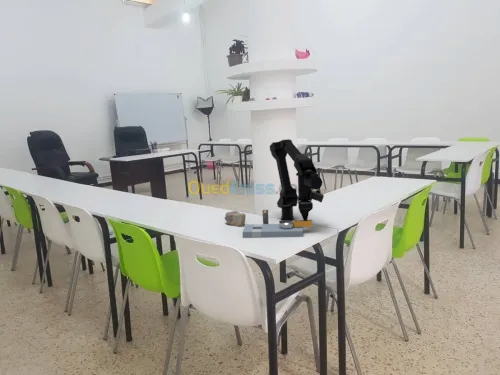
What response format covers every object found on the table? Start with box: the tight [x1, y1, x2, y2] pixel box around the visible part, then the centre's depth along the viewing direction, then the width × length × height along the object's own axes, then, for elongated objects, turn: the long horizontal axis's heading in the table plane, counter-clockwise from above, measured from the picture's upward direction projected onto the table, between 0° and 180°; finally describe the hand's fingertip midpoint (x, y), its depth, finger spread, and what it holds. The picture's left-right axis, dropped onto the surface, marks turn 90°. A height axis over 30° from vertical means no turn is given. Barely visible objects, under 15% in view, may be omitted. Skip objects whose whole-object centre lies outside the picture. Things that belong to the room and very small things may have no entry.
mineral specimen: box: [224, 210, 247, 227], centre depth 190 cm, size 13×7×6 cm, turn 55°
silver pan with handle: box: [278, 219, 313, 229], centre depth 171 cm, size 6×14×3 cm, turn 84°
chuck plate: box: [242, 223, 304, 239], centre depth 173 cm, size 12×26×2 cm, turn 84°
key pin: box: [261, 209, 270, 224], centre depth 182 cm, size 3×3×8 cm
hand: (305, 219), depth 179 cm, fingers open, 9 cm apart
